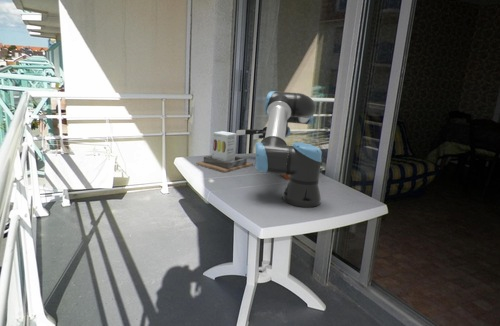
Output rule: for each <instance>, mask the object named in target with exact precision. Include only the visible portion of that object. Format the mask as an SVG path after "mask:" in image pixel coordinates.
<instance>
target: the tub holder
mask: <svg viewBox="0 0 500 326" xmlns="http://www.w3.org/2000/svg"><path fill="white" fill-rule="evenodd" d="M247 160H248V159H247V158H245V157H241V156H237V155H235V161H231V162H225V161H221V160H217V159H213V158H212V154H211V155H206V156H203V161H198V162H196V163H195V164H198V165H197V166H199V165H201V166H200V167H203V166H204V168H206V167H207V169H209V170H213V171H217V172H220V173H223V174H224V173H229V172H233V171H236V170H241V169H244V168H248V167H251V166H254V163H252V162H248V161H247Z"/></svg>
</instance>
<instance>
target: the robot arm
mask: <svg viewBox="0 0 500 326" xmlns="http://www.w3.org/2000/svg"><path fill="white" fill-rule="evenodd" d="M316 110H317V106H316V103H315V101H314V100H313V99H312V98H311V97H310V96H308V95H306V94H304V93H302V92H301V93H300V92H287V91H278V90H275V91H274V90H273V91H272V90H271V91H269V92H268V93H267V95H266V98H265V102H264V113H265V115H267V116H268V121H267V126H264V127H263V128H262V129H250V128H249V129H245V128H244V129H243V128H242V129H239V130H236V131H235V132H236V134H237V136H245V135H251V136H253V138H252V140H261V141H259V142H256V143H255V163H254V165H255V166H254V167H255V170H256V171H258V172H262V173H265V174H266V173H267V174H277V175H278V174H279V175H281V174H286V175H290V179H289V181H288V183H287V185H286V187H285V189H284V192H283V197H282V199H283V201H284V202H286V203H287V204H288V205H292V206H295V207H299V208H300V207H301V208H312V207H313V208H315V207H318V206H320V205H321V200H322V198H321V192H320V188H319V182H320V181H319V180H320V173H321V164H322V162H323V161H322V154H323V152H322V150H321V148H319V147H318V146H315V145H313V144H309V143H304V142H293V143H292V145H288V144H287V142H286V141H285V140H286V138H288V137H289V136H290V135H291V128H290V126H288V125H289V123H290V124H299V125H300V124H302V125H312V124H313V121H314V115H315V112H317V111H316Z"/></svg>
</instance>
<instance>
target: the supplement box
mask: <svg viewBox="0 0 500 326" xmlns="http://www.w3.org/2000/svg"><path fill="white" fill-rule="evenodd" d="M237 136H238V135H237V134H236V133H235V132H229V131H224V130H221V131H215V132H213V137H212V150H211V155H212V158H213V159H217V160H221V161H225V162H231V161H235V156H236V150H237V139H238V138H237Z"/></svg>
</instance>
